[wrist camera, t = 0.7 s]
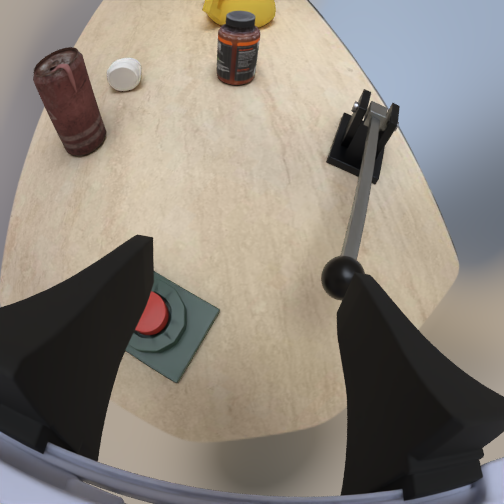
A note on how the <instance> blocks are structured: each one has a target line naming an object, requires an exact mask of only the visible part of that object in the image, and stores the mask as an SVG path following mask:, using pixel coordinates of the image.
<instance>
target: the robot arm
mask: <svg viewBox="0 0 504 504" xmlns="http://www.w3.org/2000/svg"><path fill="white" fill-rule="evenodd" d="M153 284H154V266H153V237H148V236H142V235H136V236H134V237H132V238H131V239H129V240H128V241H126V242H125V243H123V244H122V245H120V246H119V247H117V248H116V249H115V250H113V251H112V252H110V253H109V254H107V255H106V256H104V257H103V258H101V259H100V260H98V261H97V262H95V263H93V264H92V265H90V266H89V267H87V268H85V269H84V270H82V271H81V272H79V273H77V274H76V275H74V276H72V277H71V278H69V279H67V280H65V281H63V282H61V283H59V284H57V285H56V286H54V287H52V288H50V289H47V290H45V291H43V292H41V293H38V294H36V295H34V296H31V297H29V298H27V299H24V300H22V301H19V302H16V303H13V304H10V305H7V306H4V307H1V308H0V503H1V504H125V503H124V501H123V499H122V498H121V497H118V496H116V495H113V494H110V493H108V492H105V491H103V490H101V489H98V488H96V487H94V486H91V485H89V484H92V485H95V486H97V487H100V488H103V489H106V490H109V491H112V492H115V493H118V494H121V495H125V496H128V497H131V498H135V499H138V500H142V501H146V502H149V503H153V504H504V457H502V458H499V459H496V460H493V461H490V462H488V463H486V464H483V465H481V466H480V461H479V459H481V458H482V457H483V456H484V453H483V449H482V448H483V447H484V446H485V445H487V444H488V443H490V442H491V441H492V440H494V439H495V438H496V437H498V436H499V435H500V434H501V433H502V432H504V397H503V396H501V395H499V394H498V393H496V392H494V391H493V390H491V389H489V388H487V387H486V386H484V385H482V384H481V383H479V382H478V381H477V380H475V379H473V378H472V377H471V376H469V375H468V374H466V373H465V372H464V371H462V370H461V369H460V368H459V367H457V366H456V365H455V364H454V363H452V362H451V361H450V360H449V359H448V358H447V357H445V356H444V355H443V354H442V353H441V352H440V351H439V350H438V349H437V348H436V347H434V346H433V345H432V344H431V343H430V342H429V341H428V340H427V339H426V338H425V337H424V336H423V335H422V334H421V333H420V331H419V330H418V329H417V328H416V327H415V326H414V325H413V324H412V323H411V322H410V320H409V319H408V318H407V317H406V316H405V315H404V314H403V312H402V311H401V310H400V309H399V308H398V307H397V305H396V304H395V303H394V302H393V301H392V299H391V298H390V297H389V296H388V295H387V293H386V292H385V291H384V290H383V289H382V287H381V286H380V285H379V284H378V283H377V282H376V281H375V280H374V278H373V277H372V276H370V275H367V274H361V273H356V272H355V273H354V276H353V278H352V280H351V282H350V285H349V287H348V289H347V292H346V294H345V296H344V298H343V300H342V303H341V305H340V307H339V309H338V311H337V335H338V343H339V349H340V355H341V361H342V367H343V373H344V379H345V385H346V394H347V416H348V417H347V418H348V419H347V420H348V421H347V422H348V423H347V448H346V461H345V471H344V478H343V485H342V491H341V496H323V497H286V496H265V495H251V494H241V493H231V492H223V491H216V490H209V489H203V488H196V487H191V486H186V485H181V484H176V483H171V482H167V481H162V480H158V479H154V478H150V477H146V476H142V475H138V474H135V473H131V472H128V471H125V470H121V469H118V468H115V467H112V466H109V465H106V464H102V463H100V462H97V461H98V456H99V449H100V442H101V436H102V431H103V426H104V421H105V417H106V412H107V407H108V404H109V400H110V396H111V392H112V388H113V385H114V381H115V378H116V375H117V371H118V368H119V365H120V362H121V360H122V357H123V355H124V352H125V350H126V348H127V346H128V344H129V341H130V339H131V337H132V335H133V333H134V331H135V329H136V326H137V324H138V322H139V320H140V318H141V316H142V314H143V312H144V310H145V307H146V305H147V302H148V299H149V296H150V293H151V290H152V287H153ZM85 482H86V483H85ZM87 483H89V484H87Z"/></svg>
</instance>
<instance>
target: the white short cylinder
mask: <svg viewBox="0 0 504 504" xmlns="http://www.w3.org/2000/svg"><path fill="white" fill-rule="evenodd" d="M140 79H141V65H140V63H139V61H138V60H136V59H134V58H122V59H118V60H116V61H114V62H113V63H112V64H111V66H110V67H109V69H108V70H107V80H108V82H109V84H110V86H111V87H113V88H114V89H115V90H119V91H127V90H132V89H134V88H135V87H136V86H137V85H138V84H139V82H140Z"/></svg>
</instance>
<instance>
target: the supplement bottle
mask: <svg viewBox="0 0 504 504" xmlns="http://www.w3.org/2000/svg"><path fill="white" fill-rule="evenodd" d="M259 41H260V31H259V29H258V28H257V27H256V26H255V15H254V14H252V13H250V12H247V11H232V12H229V13H228V14H227V15H226V24H224V25H222V26H221V27H220V29H219V32H218V50H217V76H218V78H219V79H220V80H221V81H223V82H225V83H228V84H232V85H241V84H246V83H248V82H250V81H251V80H253V78H254V76H255V70H256V62H257V55H258V48H259Z"/></svg>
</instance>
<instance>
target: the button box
mask: <svg viewBox="0 0 504 504" xmlns="http://www.w3.org/2000/svg"><path fill="white" fill-rule="evenodd" d="M151 291H152V292H154V293H156V294H158V295H159V296H160V297H161V298H162V300H163V301H164V303H165V304H166V306H167V308H168V313H169V317H168V322H167V324H166V326H165V327H164V329H163V330H161V331H160V332H159V333H157V334H154V335H144V334H141V333H139V332H138V331H136V330H135V331H134V333H133V335H132V337H131V339H130V341H129V344H128V346H127V348H126V350H125V351H127V352H128V353H130V354H131V355H133V356H134V357H136V358H137V359H139V360H140V361H142V362H143V363H145V364H146V365H148V366H149V367H151V368H152V369H154V370H156V371H157V372H159V373H160V374H162V375H164V376H165V377H167V378H169V379H170V380H172V381H174V382H175V383H179V381H180V379H181V377H182V376H183V374H184V372H185V371H186V369H187V367H188V365H189V364H190V362H191V360H192V359H193V357H194V355H195V353H196V352H197V350H198V348H199V347H200V345H201V343H202V341H203V340H204V338H205V336H206V335H207V333H208V331H209V329H210V328H211V326H212V324H213V323H214V321H215V319H216V317H217V316H218V314H219V312H220V309H218V308H217V307H215V306H213V305H211V304H209V303H208V302H206V301H204V300H202V299H201V298H199V297H197V296H195V295H194V294H192V293H190V292H189V291H187V290H185V289H183V288H182V287H180V286H178V285H177V284H175V283H173V282H171V281H170V280H168V279H166V278H165V277H163V276H161V275H160V274H158V273H156V272H155V271H154V284H153V287H152V290H151Z"/></svg>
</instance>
